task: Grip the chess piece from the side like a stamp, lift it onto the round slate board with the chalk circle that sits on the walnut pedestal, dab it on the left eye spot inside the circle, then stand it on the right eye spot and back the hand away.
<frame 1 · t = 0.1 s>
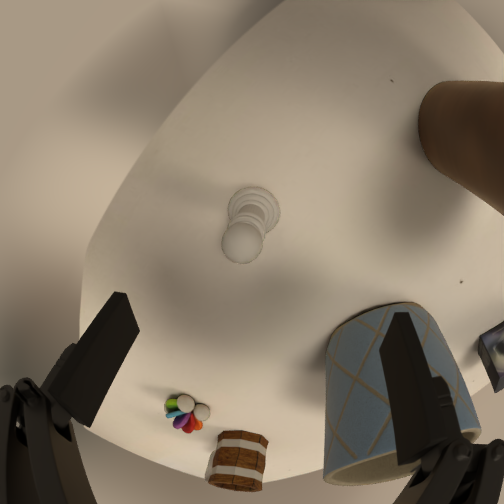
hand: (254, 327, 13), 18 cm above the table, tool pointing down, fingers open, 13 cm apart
chess piece: (254, 209, 29), on the table
rainbow petal fan toy: (188, 402, 53), on the table
mug: (235, 439, 62), on the table
planter: (381, 342, 37), on the table
walnut pedestal: (459, 130, 21), on the table
small box: (498, 331, 34), on the table
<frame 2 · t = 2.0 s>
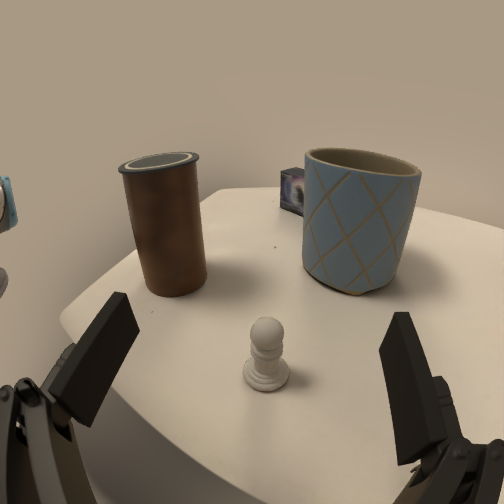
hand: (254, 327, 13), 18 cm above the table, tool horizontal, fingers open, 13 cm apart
chess piece: (265, 374, 30), on the table
planter: (348, 267, 49), on the table
walnut pedestal: (176, 277, 47), on the table
small box: (301, 211, 72), on the table
slate board: (158, 162, 37), resting on walnut pedestal
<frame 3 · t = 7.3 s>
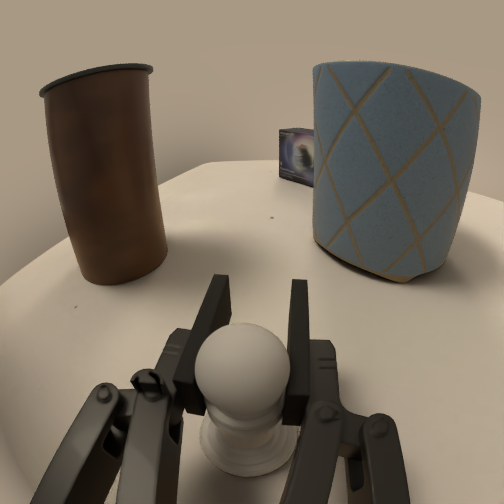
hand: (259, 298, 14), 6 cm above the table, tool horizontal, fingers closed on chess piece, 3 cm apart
chess piece: (248, 438, 13), on the table, touching gripper
planter: (379, 243, 32), on the table
walnut pedestal: (123, 257, 30), on the table
small box: (305, 181, 55), on the table
slate board: (95, 82, 20), resting on walnut pedestal
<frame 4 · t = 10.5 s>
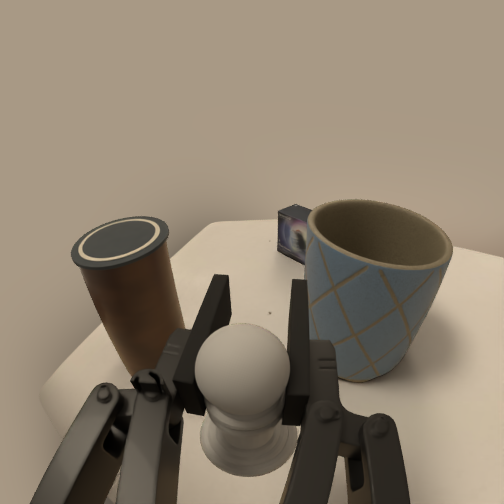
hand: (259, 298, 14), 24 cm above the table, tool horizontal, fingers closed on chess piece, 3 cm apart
chess piece: (248, 438, 13), point 18 cm above the table, touching gripper
planter: (353, 340, 41), on the table
walnut pedestal: (157, 355, 39), on the table
small box: (301, 255, 64), on the table
slate board: (118, 240, 29), resting on walnut pedestal
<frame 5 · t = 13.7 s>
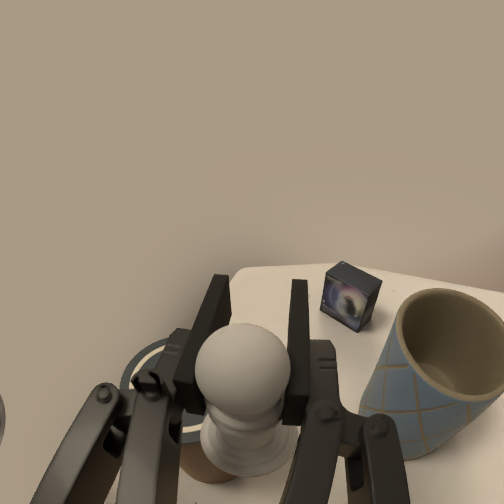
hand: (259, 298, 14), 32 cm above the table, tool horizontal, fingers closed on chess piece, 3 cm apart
chess piece: (249, 438, 13), point 25 cm above the table, touching gripper
planter: (404, 416, 34), on the table
walnut pedestal: (212, 451, 32), on the table
small box: (344, 315, 57), on the table
slate board: (183, 385, 22), resting on walnut pedestal
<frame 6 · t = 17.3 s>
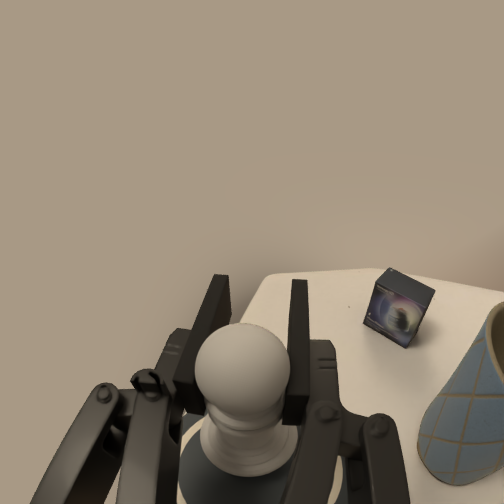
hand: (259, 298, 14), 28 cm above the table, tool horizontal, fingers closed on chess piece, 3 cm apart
chess piece: (248, 438, 13), point 21 cm above the table, touching gripper
planter: (460, 438, 24), on the table
small box: (390, 328, 47), on the table
slate board: (256, 473, 12), resting on walnut pedestal
when the fingers open (26 cm above the table, at t = 20.1 s): chess piece stays where it is, resting on slate board.
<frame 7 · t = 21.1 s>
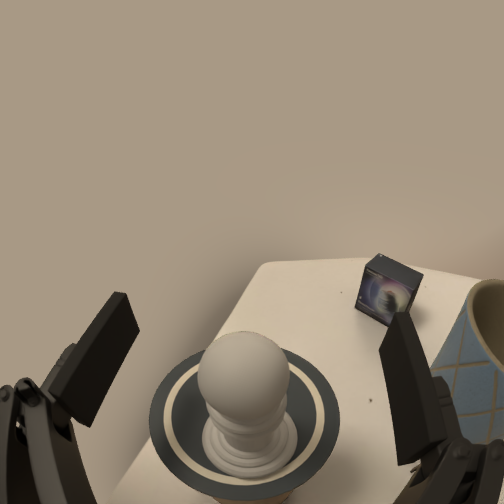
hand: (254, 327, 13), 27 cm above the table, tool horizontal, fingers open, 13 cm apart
chess piece: (249, 440, 13), point 20 cm above the table, touching slate board
planter: (452, 418, 27), on the table
walnut pedestal: (250, 475, 25), on the table
small box: (381, 313, 50), on the table
slate board: (243, 414, 15), resting on walnut pedestal
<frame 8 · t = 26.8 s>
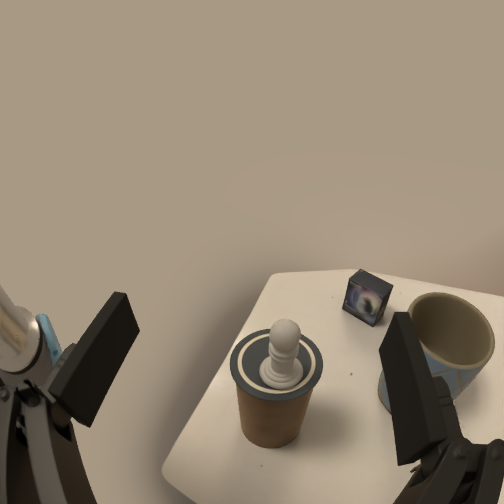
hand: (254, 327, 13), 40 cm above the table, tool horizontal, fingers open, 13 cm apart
chess piece: (281, 373, 32), point 20 cm above the table, touching slate board
planter: (412, 390, 46), on the table
walnut pedestal: (270, 422, 44), on the table
small box: (362, 313, 69), on the table
slate board: (276, 363, 34), resting on walnut pedestal
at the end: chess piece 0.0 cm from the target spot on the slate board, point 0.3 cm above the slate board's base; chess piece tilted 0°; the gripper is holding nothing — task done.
